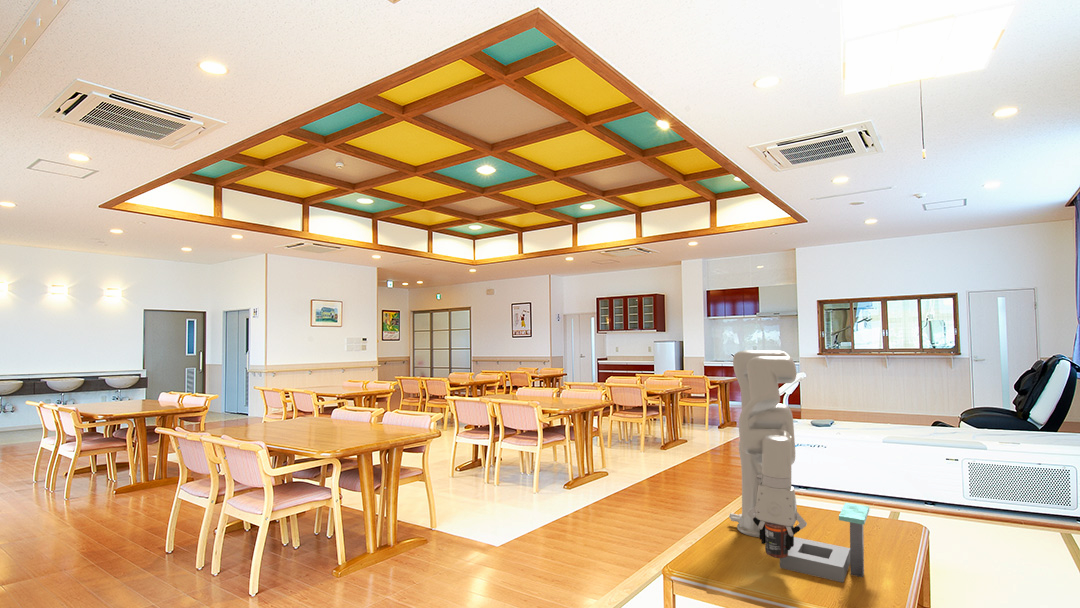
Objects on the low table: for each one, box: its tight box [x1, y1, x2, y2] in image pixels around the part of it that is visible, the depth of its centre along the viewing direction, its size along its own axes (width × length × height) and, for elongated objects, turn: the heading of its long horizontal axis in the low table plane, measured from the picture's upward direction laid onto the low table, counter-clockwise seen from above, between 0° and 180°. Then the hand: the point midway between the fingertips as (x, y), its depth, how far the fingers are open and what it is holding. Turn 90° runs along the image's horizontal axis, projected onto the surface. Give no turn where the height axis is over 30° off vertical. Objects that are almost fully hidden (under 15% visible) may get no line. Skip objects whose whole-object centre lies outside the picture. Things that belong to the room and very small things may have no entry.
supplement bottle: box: [764, 522, 788, 559], centre depth 158 cm, size 6×6×11 cm
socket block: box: [779, 536, 850, 583], centre depth 164 cm, size 16×16×4 cm
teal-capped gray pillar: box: [838, 502, 870, 578], centre depth 158 cm, size 6×14×17 cm, turn 145°
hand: (776, 544), depth 159 cm, fingers closed on supplement bottle, 6 cm apart
